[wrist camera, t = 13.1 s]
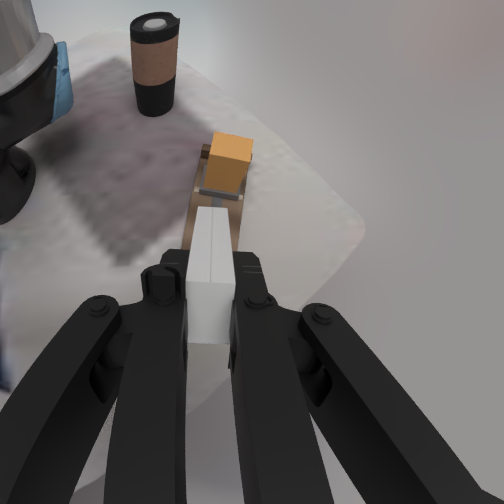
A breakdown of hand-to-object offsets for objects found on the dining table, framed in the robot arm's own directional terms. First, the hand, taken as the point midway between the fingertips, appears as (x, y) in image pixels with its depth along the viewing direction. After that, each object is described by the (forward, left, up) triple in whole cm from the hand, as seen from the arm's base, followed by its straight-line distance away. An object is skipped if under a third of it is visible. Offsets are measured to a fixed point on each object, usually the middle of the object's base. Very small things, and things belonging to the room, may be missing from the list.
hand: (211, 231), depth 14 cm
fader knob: (+14, +7, -24) cm, 29 cm away
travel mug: (+21, +29, -27) cm, 45 cm away
